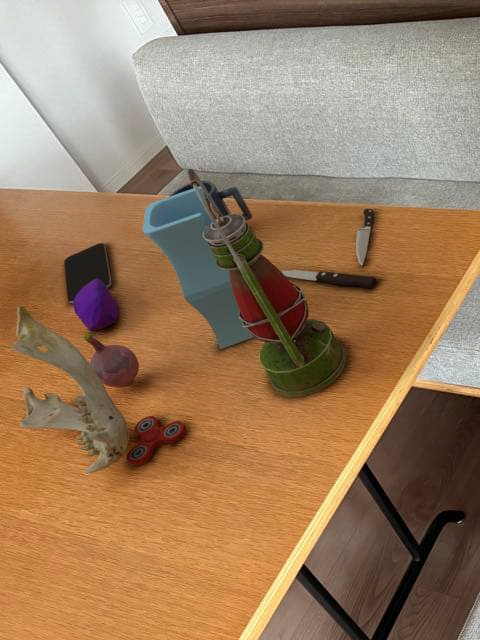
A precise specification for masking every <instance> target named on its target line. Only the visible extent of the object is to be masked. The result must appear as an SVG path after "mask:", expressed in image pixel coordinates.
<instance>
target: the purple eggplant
mask: <svg viewBox="0 0 480 640" xmlns="http://www.w3.org/2000/svg"><path fill="white" fill-rule="evenodd" d="M72 307H73V309H74V314H75V315H76V317H78V318H79V320H80V321H81V322H82V323H83V325H84V326H85V327H86V328H87V329H88V331H90V332H96V331H98V330H101V329H104V328H106V327H108V326H110V325H112V324H114V323H116V321H117V320H118V318H119V309H118V305H117V302H116V300H115V298H114V296H113V294H112V293H111V292H110V290H109V288H107V287H106V286H105V285H104V283H103V282H102V281H101V280H100V279H98V278H97V279H95V280H93V281H91V282H90V283H88V284H87V285H85V286H84V287H83V288H82V289H81V290H80V291H79V292H78V294H77V295H76V297H75V299H74V302H73V303H72Z"/></svg>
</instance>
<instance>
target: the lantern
mask: <svg viewBox="0 0 480 640" xmlns="http://www.w3.org/2000/svg"><path fill="white" fill-rule="evenodd" d="M186 173H187V177H188V180H189V184H191V186H192V187H193V188H194V189H195V191H196V193H197V195H198V197H199V199H200V201H201V203H202V205H203V206H204V208H205V210H206V212H207V213H208V215H209V217H210V218H211V220H212V222H211V223H210V224H209V225H208V226H207V227H206V228H205V230H204V231H203V238H204V239H205V240H206V241H207V244H208V245H209V247H210V249H211V252H212V253H213V255H214V256H215V258H216V265H217V266H218V267H219V268H220V269H222V270H226V271H227V270H229V275H230V281H231V285H232V289H233V293H234V296H235V299H236V302H237V305H238V307H239V318H240V319H241V320H242V323H243V327H244V328H246V329H247V330H248V331H249V332H250V333H251V334H252V335H253V336H254V337H253V338H255V339H256V340H258V341H261V342H263V345H261V348H260V350H259V363H260V364H261V366H262V368H263V369H264V371H265V372H266V373H267V375H268V376H269V378H270V383H271V386H272V387H273V389H274V390H275V391H276V393H278V394H280V395H282V396H285V397H288V398H296V397H306V396H308V395H311V394H315V393H317V392H320V391H321V390H322V389H324V388H325V387H327V386H329V385H331V384H332V383H333V382H334V381H335V380H336V379H337V377H338V376H339V375H340V374H341V373H342V372H343V370H344V368H345V365H346V362H347V352H346V349H345V348H344V347H343V345H341V343H340V342H339V341H338V340H337V338H336V336H335V334H334V332H333V330H332V329H331V327H330V326H329V325H328V324H327V323H326V322H325V321H323V320H319V319H316V318H309V316H310V314H309V312H310V311H309V306H308V302H307V300H306V299H307V298H306V296H305V294H304V293H303V291H302V288H301V287H300V286H299V285H298V284H297V283H295V282H292V281H290V280H289V279H288V277H287V276H285V275H284V274H283V273H282V272H281V271H282V270H280V269H279V268H278V267H277V266H276V265H274V263H272V262H271V260H269V258H267V257H266V256H264V255H263V254H262V253H263V251H264V247H265V246H264V245H265V243H264V242H263V241H262V240H261V239H260V238H258V237H257V236H256V234H255V232H254V231H253V230H252V229H251V226H250V225H249V224H248V223H247V221H246V220H245V218H244V217H243V216H242V215H241V214H239V213H231V214H229V215H226V216H223V215H222V214H221V212H220V211H219V209H218V208H217V206H216V204H215V203H214V201H213V199H212V198H211V196H210V194H209V193H208V191H207V189H206V188H205V186H204V185H203V183H202V180H201V178H200V177H199V174H197V172H196V171H195V170H194V169H192V168H188V169H187V170H186ZM198 183H199V184H198ZM198 185H200V186H201V188H202V189H203V191H204V193H205V194H206V196H207V198H208V199H209V201H210V202H211V203H210V206H211V209H212V211H213V213H214V215H215V216H216V218H217V219H216V220H215V218H214V216H213V215H212V213H211V211H210V209H209V208H208V206H207V204H206V202H205V201H204V199H203V197H202V195H201V193H200V191H199V189H198ZM245 325H246V326H245Z"/></svg>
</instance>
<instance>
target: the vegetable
mask: <svg viewBox="0 0 480 640" xmlns="http://www.w3.org/2000/svg"><path fill="white" fill-rule="evenodd" d="M82 338H83V339H84V341H86V342H87V343H88V344H90V345H91V346H92V347H93V348H94V350H95V352H94V353H93V355H92V356H91V358H90V362H89V363H90V365H91V366H92V368H93V369H94V371H95V372H96V374H97V375H98V377H99V379H100V380H101V382H102V384H103V385H105V386H108V387H111V388H126V387H128V388H129V386H130V387H131V386H132V384H133V383H134V381H135V379H136V377H137V376H138V373H139V369H140V364H139V361H138V357H137V356H136V354H135V353H134V352H133V351H132V350H131V349H130V348H128V347H126V346H123V345H120V344H108V345H104V344H103V343H102V342H101V341H100V340H98V339H97V338H96V337H94V336H93V335H92V334H89V333H87V334H82Z"/></svg>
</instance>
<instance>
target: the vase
mask: <svg viewBox="0 0 480 640" xmlns="http://www.w3.org/2000/svg"><path fill="white" fill-rule="evenodd" d="M198 189H199V191H200V193H201V195H202V197H203V199H204V201H205V202H206V204H207V201H206V198H205V194H204V191H203V189H202V188H201V186H199V187H198ZM169 196H170V195H169ZM169 196H167V197H165V198H162V199H159V200H156V201H154V202H152V203H150V204H149V205H148V206H146V207H145V210H144V217H143V224H142V233H143V234H144V235H145V236H146V237H147V238H148V239H149V240H150V241H152V242H153V243H154V244H155V245H156V247H158V248H159V249H160V250H161V251H162V253H163V254H164V255H165V256H166V258H167V259H168V261H169V262H170V263H171V265H172V267H173V269H174V271H175V274H176V276H177V279H178V282H179V285H180V288H181V292H182V296H183V298H184V300H185V301H186V302H187V304H189V305H190V306H191V307H192V308H194V310H196V311H197V312H198V313H199V314H200V315H201V316H202V317H203V318H204V319H205V320H206V322H207V323H208V324H209V326H210V327H211V329H212V331H213V334H214V336H215V338H216V340H217V343H218V346H219V349H220V350H223V349H225V348H228V347H230V346H233V345H236V344H240V343H242V342H245V341H248V340H250V339H254V338H255V337H254V336H253V335H252V334H251V333H250V332H249V331H248V330H247V329H246V328H244V327H243V323H242V320H241V319H240V318H239V307H238V305H237V302H236V299H235V296H234V293H233V289H232V285H231V281H230V275H229V270H227V271H226V270H222V269H220V268H219V267H218V266H217V265H216V258H215V256H214V255H213V253H212V252H211V249H210V247H209V245H208V244H207V241H206V240H205V239H204V238H203V231H204V230H205V228H206V227H207V226H208V225H209V224H210V223H211V222H212V220H211V218H210V217H209V215H208V213H207V212H206V210H205V208H204V206H203V205H202V203H201V201H200V199H199V197H198V195H197V193H196V191H195V189H194V188H193V189H190V190H188V191H185V192H182V193H179V194H176V195H173V196H170V197H169ZM207 206H208V204H207ZM208 208H209V207H208ZM245 326H246V325H245Z"/></svg>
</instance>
